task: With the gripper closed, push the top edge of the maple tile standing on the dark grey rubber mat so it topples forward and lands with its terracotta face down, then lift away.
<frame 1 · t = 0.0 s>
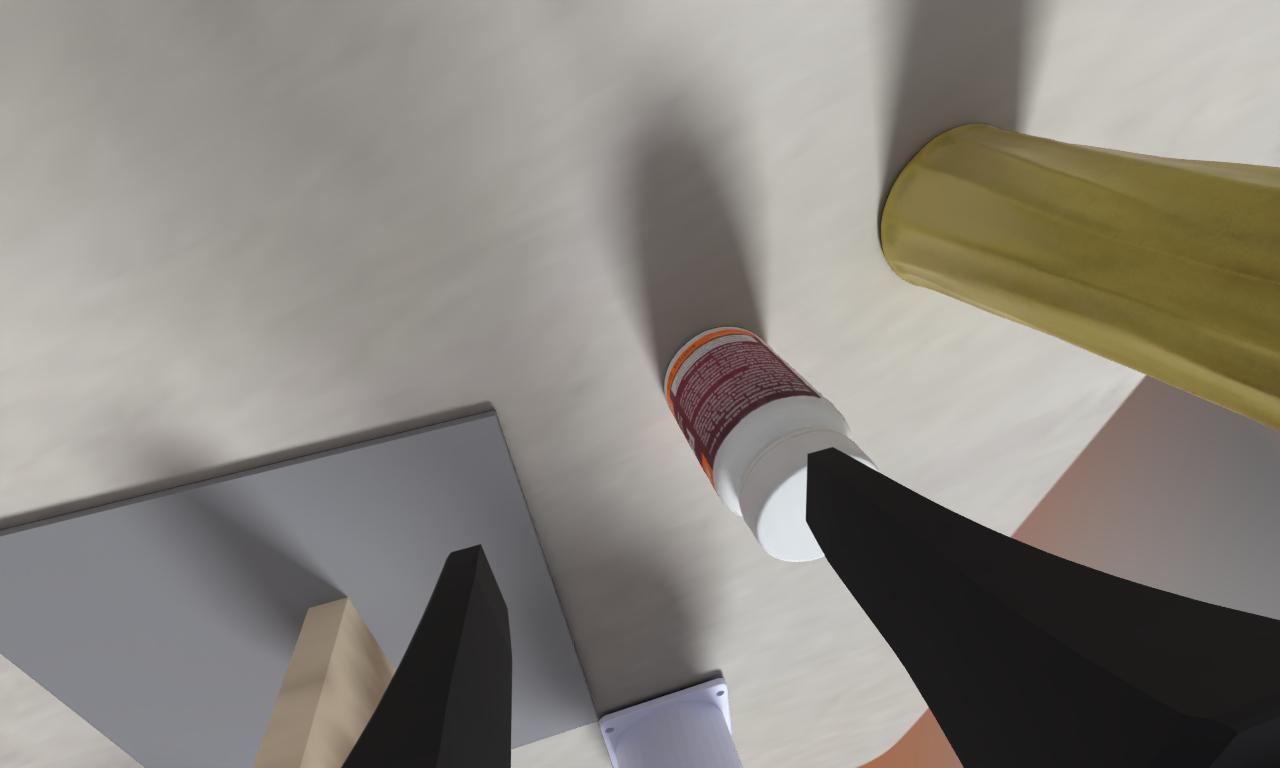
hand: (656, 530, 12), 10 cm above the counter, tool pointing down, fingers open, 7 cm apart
tile: (366, 658, 25), resting on mat
vase: (943, 208, 21), on the counter
pill bottle: (715, 374, 22), on the counter
mat: (345, 656, 25), on the counter
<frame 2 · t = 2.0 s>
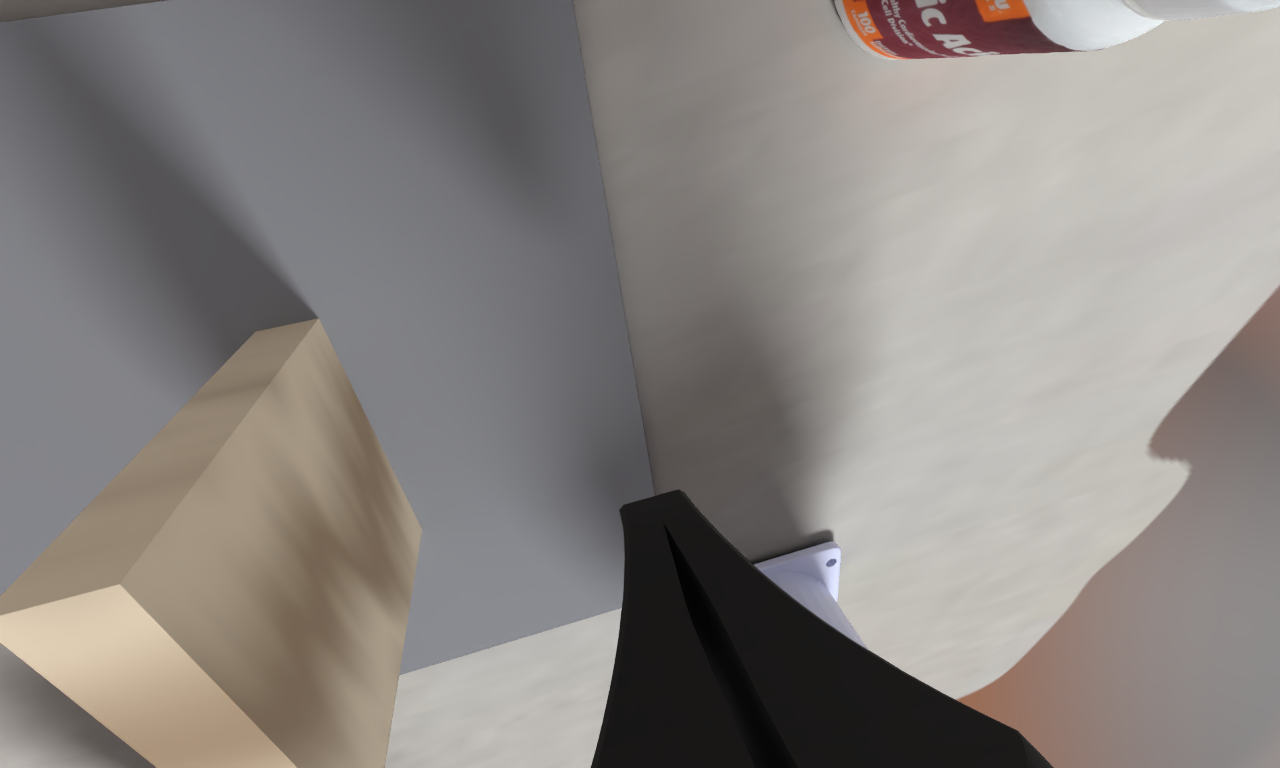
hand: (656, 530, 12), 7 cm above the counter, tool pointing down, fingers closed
tile: (349, 443, 16), resting on mat
mat: (319, 444, 16), on the counter
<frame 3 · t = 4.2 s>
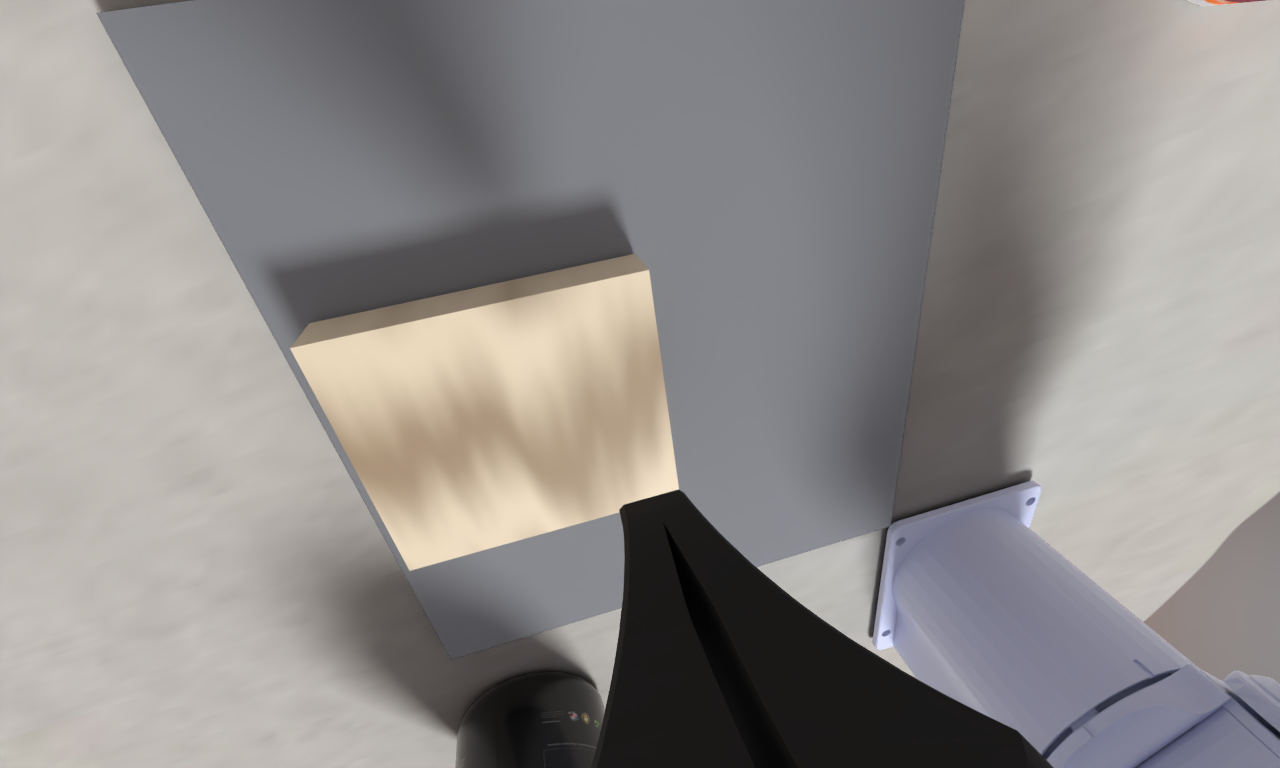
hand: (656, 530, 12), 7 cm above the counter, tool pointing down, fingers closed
tile: (659, 384, 17), point 1 cm above the counter, tilted 90°, touching mat
supplement bottle: (533, 707, 26), on the counter
mat: (647, 365, 18), on the counter
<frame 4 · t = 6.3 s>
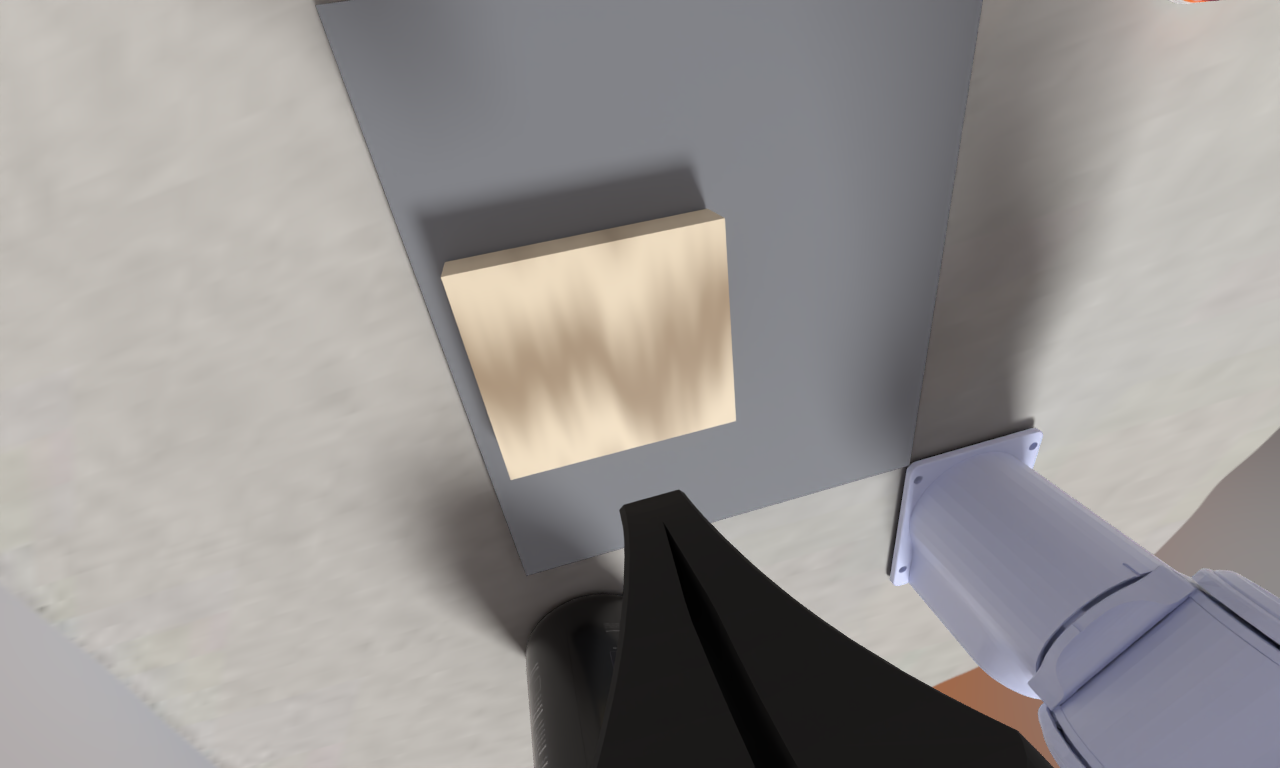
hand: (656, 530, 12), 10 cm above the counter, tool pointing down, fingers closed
tile: (722, 322, 20), point 1 cm above the counter, tilted 90°, touching mat
supplement bottle: (589, 630, 29), on the counter
mat: (709, 309, 21), on the counter
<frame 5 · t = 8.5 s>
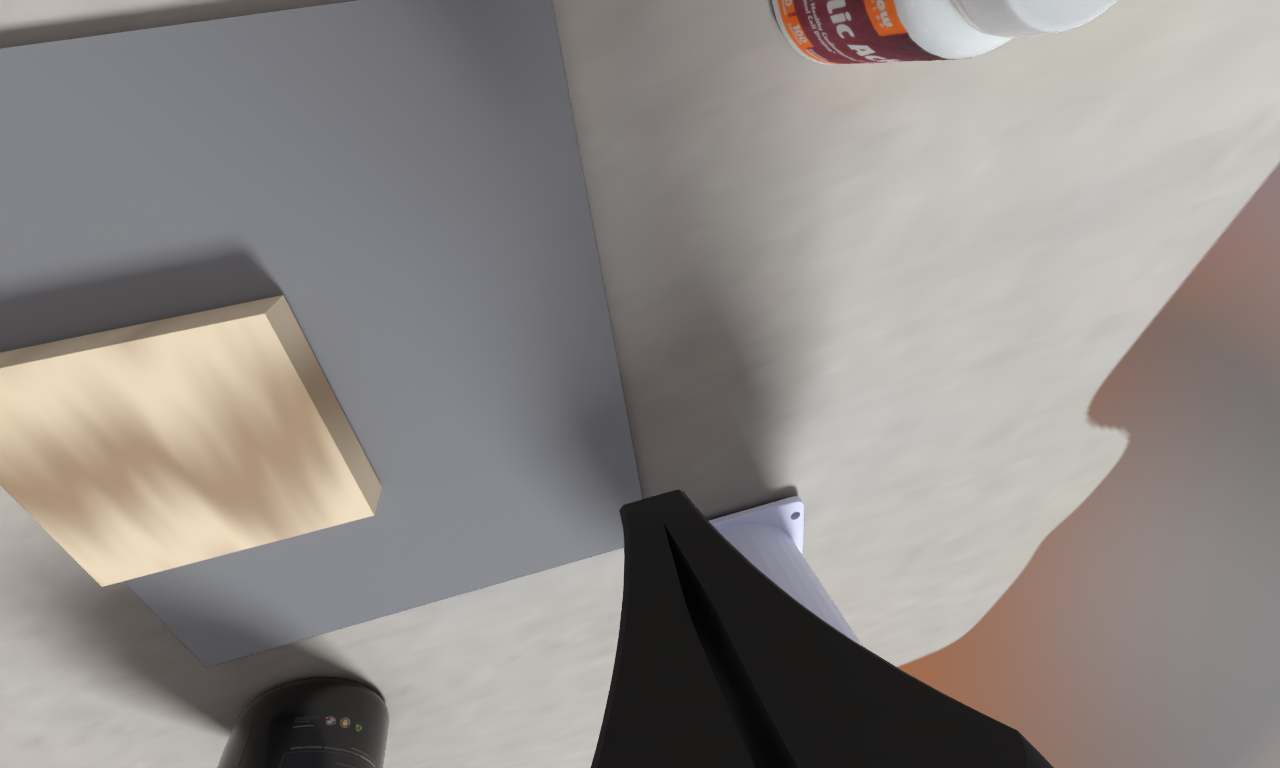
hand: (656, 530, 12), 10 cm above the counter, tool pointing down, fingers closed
tile: (332, 413, 18), point 1 cm above the counter, tilted 90°, touching mat
supplement bottle: (319, 712, 27), on the counter
mat: (340, 394, 19), on the counter
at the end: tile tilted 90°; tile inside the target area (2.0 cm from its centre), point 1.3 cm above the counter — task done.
